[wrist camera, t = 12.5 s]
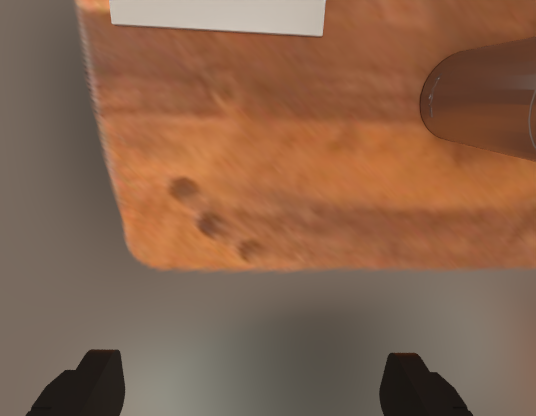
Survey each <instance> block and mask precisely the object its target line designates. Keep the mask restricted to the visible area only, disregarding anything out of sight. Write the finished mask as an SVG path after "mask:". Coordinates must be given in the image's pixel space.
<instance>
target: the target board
mask: <svg viewBox="0 0 536 416" xmlns="http://www.w3.org/2000/svg"><path fill="white" fill-rule="evenodd" d="M325 2H326V0H109V3H110V12H111V21H112V24H113V25H116V26H133V27H151V28H168V29H186V30H203V31H221V32H238V33H256V34H273V35H291V36H308V37H322V35H323V24H324V13H325Z"/></svg>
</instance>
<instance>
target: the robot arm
mask: <svg viewBox="0 0 536 416" xmlns="http://www.w3.org/2000/svg"><path fill="white" fill-rule="evenodd" d="M420 108H421V115H422V118H423V121H424V123H425V125H426V126H427V128H428V129H429V130H430V131H431V132H432V133H433V134H434V135H436V136H438V137H439V138H442V139H446V140H450V141H454V142H458V143H462V144H465V145H469V146H473V147H478V148H482V149H486V150H490V151H494V152H498V153H502V154H507V155H511V156H515V157H519V158H523V159H527V160H531V161H536V37H532V38H527V39H522V40H516V41H511V42H506V43H501V44H496V45H491V46H486V47H481V48H476V49H471V50H466V51H461V52H458V53H456V54H453V55H451V56H450V57H448V58H446V59H445V60H443V61H442V62H441V63H440V64H439V65H438V66H437V67H436V68H435V69H434V70H433V72H432V73H431V74H430V76H429V77H428V79H427V81H426V83H425V85H424V88H423V91H422V95H421V102H420ZM379 396H380V404H381V408H382V411H383V414H384V416H473V414H472V413H471V412H470V411H468V409H467V406H466V404H465V403H464V402H463V400H462V398H461V397H460V396H459V395H458V393H457V391H456V390H455V388H454V387H452V386H451V385H450V384H449V383H448V382H447V381H446V380H445V379H444V378H442V377H441V376H440V375H439V374H438V373H437V372H430V371H429V370H428V368H427V367H426V365H425V364H424V362H423V360H422V359H421V357H420V356H419V355H418V354H416V353H390V354H389V355H388V358H387V362H386V366H385V370H384V374H383V378H382V382H381V386H380V391H379ZM124 397H125V383H124V376H123V369H122V361H121V354H120V351H119V350H94V349H92V350H89V351H88V352H87V353H86V355H85V356H84V358H83V359H82V361H81V362H80V364H79V365H78V367H77V369H76V370H65V371H64V372H63V373H61V374H60V375H59V376H58V377H57V378H56V379H54V380H53V381H52V382H51V383H50V384H48V385H47V386H46V387H45V389H44V390H43V392H42V393H41V394H40V396H39V397H38V399H37V400H36V401H35V403H34V404H33V406H32V408H31V411H29V412H28V413H27V414H26V416H119V415H120V413H121V410H122V407H123V403H124Z"/></svg>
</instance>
